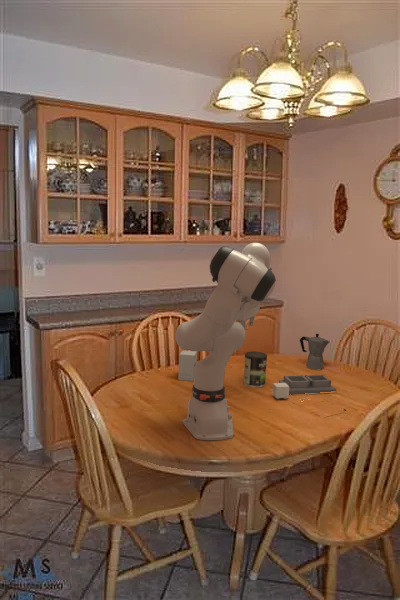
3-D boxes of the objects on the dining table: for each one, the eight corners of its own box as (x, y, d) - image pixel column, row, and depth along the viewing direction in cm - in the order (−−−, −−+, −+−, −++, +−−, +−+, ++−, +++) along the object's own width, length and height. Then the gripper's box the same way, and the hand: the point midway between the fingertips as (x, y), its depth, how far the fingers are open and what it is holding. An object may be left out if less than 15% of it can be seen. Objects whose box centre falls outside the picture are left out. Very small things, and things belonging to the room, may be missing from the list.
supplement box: (193, 381, 231) (194, 355, 229) (177, 380, 233) (178, 354, 230) (196, 376, 238) (197, 351, 236) (181, 375, 240) (182, 349, 238)
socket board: (335, 393, 222) (336, 382, 221) (288, 395, 218) (289, 384, 217) (322, 382, 235) (323, 372, 234) (278, 384, 231) (279, 373, 230)
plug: (288, 400, 212) (289, 386, 211) (275, 400, 211) (276, 386, 210) (284, 395, 217) (285, 382, 216) (272, 396, 216) (273, 383, 215)
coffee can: (269, 383, 232) (271, 354, 230) (258, 389, 224) (259, 359, 222) (250, 378, 238) (252, 350, 236) (239, 383, 230) (240, 354, 228)
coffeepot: (329, 366, 261) (331, 333, 257) (326, 371, 252) (328, 337, 249) (299, 362, 267) (302, 329, 263) (296, 367, 258) (298, 333, 255)
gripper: (248, 300, 197) (246, 334, 199) (263, 292, 215) (261, 323, 218) (233, 298, 199) (231, 332, 202) (249, 291, 218) (247, 322, 220)
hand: (247, 327), depth 210 cm, fingers open, 8 cm apart
